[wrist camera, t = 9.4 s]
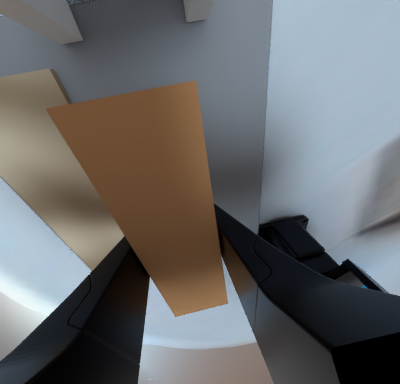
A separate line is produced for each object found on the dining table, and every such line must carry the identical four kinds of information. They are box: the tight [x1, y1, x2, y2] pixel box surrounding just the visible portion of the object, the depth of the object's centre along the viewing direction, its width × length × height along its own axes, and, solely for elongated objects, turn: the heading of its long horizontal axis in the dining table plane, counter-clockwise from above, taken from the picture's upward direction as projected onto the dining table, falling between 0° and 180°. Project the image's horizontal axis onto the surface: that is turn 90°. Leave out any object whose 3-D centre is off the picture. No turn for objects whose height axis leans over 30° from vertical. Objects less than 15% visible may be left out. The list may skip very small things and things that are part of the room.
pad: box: [0, 69, 124, 271], centre depth 12 cm, size 16×6×1 cm, turn 9°
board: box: [0, 0, 273, 271], centre depth 12 cm, size 18×18×1 cm
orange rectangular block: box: [46, 80, 228, 317], centre depth 8 cm, size 12×4×4 cm, turn 9°
